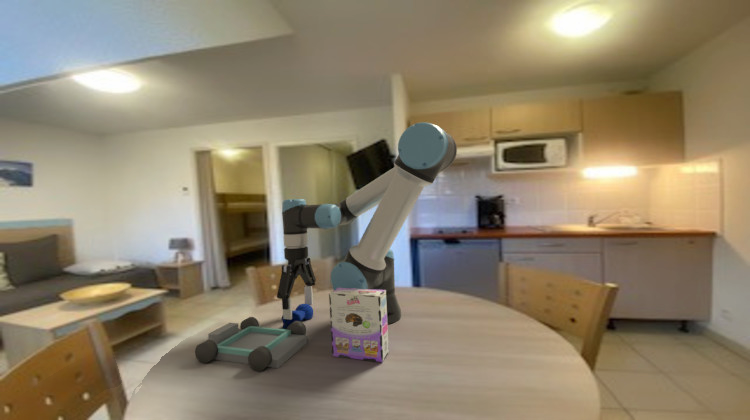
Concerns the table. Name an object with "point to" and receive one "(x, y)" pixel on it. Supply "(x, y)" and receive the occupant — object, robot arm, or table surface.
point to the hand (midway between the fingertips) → (299, 311)
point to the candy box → (359, 323)
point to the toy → (299, 315)
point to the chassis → (252, 344)
